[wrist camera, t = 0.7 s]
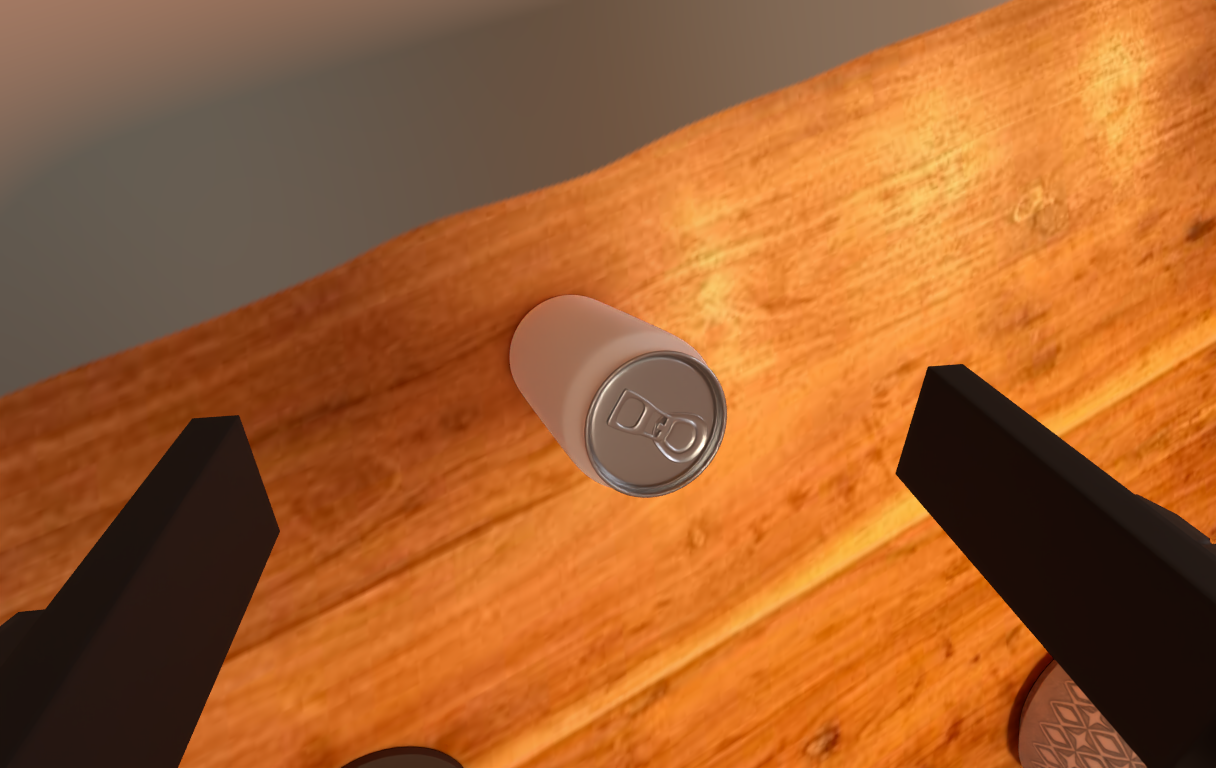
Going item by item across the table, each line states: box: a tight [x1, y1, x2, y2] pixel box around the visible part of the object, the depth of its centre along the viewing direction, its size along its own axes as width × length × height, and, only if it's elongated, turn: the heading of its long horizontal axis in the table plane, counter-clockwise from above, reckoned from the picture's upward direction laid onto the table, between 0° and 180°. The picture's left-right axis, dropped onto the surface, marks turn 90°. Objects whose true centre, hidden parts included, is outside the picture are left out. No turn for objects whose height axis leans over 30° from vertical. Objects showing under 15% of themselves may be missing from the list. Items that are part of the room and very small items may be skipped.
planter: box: [1018, 659, 1147, 768], centre depth 54 cm, size 16×16×13 cm
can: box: [510, 295, 727, 498], centre depth 28 cm, size 6×6×12 cm
